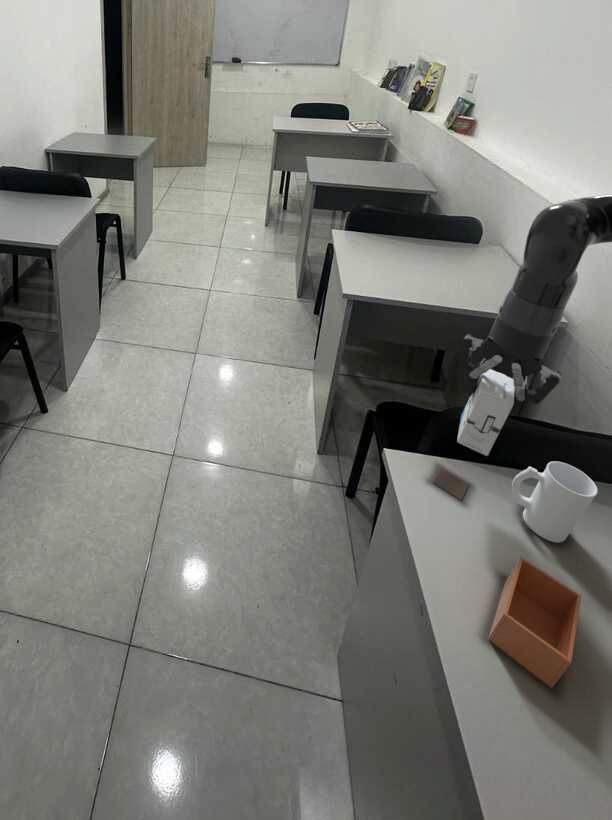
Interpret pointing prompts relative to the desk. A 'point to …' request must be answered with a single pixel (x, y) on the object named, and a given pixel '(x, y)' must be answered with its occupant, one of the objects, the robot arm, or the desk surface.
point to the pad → (451, 484)
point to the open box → (537, 621)
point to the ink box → (486, 411)
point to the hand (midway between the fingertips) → (488, 402)
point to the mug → (555, 499)
